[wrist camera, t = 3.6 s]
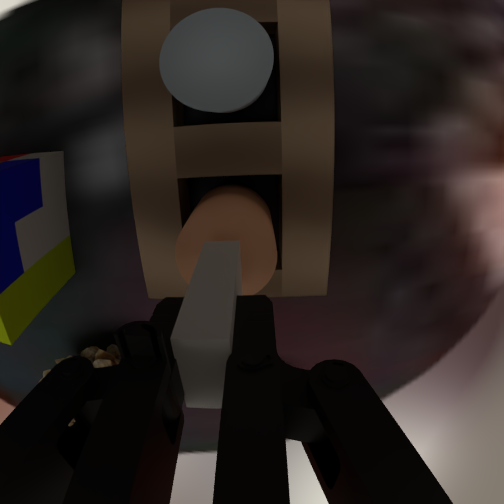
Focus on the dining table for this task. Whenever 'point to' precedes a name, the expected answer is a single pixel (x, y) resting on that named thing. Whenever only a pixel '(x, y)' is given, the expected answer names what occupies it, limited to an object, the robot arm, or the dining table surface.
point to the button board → (233, 140)
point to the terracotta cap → (231, 233)
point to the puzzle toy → (31, 238)
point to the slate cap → (217, 60)
